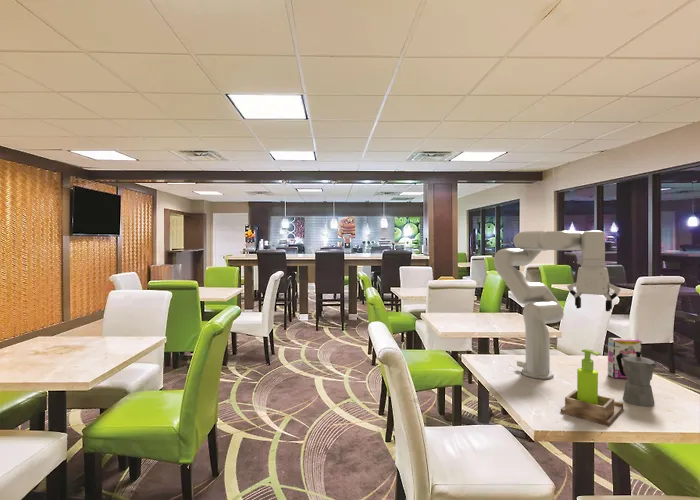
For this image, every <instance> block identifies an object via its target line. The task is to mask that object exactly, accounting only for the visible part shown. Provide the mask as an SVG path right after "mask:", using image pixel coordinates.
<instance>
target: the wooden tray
mask: <svg viewBox="0 0 700 500" xmlns="http://www.w3.org/2000/svg"><path fill="white" fill-rule="evenodd" d="M623 411H624V403H623V402H620V401H616V400H615V398H613V397H608V396H606V395H605V396H604V395H600V394H598V405H596V404H592V403H588V402H584V401H580V400H577V389H574V390H573V391H572V392H571V393H569V394H568V395H566V396H565V397H564V406H562V407H561V408H560V414H564V415H568V416H571V417H575V418H579V419H582V420H585V421H589V422H594V423H597V424H599V425H604V426H607V427H610V426H611V425H612V423H614V421H615V420H616V419H617V418H618V417H619V415H620V414H621V413H622V412H623Z"/></svg>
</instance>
